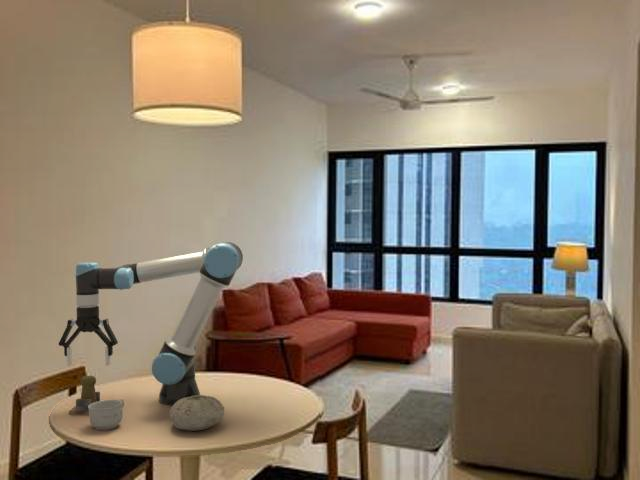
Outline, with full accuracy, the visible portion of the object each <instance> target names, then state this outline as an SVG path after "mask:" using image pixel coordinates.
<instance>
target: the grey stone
mask: <svg viewBox="0 0 640 480" xmlns="http://www.w3.org/2000/svg"><path fill="white" fill-rule="evenodd" d="M170 406H171V407H170V412H169V418H170V420H171V421H170V422H171V423H172V424H173V425H174V426H175V427H176V428H177V429H179V430H184V431H193V432H195V431H201V430H202V431H203V430H207V429H209V428H211V427H213V426H215V425H217V424H218V423H219V422H220V421H221V420H222V419H223V417H224V415H225V406H224V405H223V404H222V402H221V401H220V400H218V399H217V398H216V397H214V396H210V395H201V394H200V395H195V396H194V395H193V396H190V397H186V398H182V399H180V400H178V401H177V402H176V403H175V404H174V405H170Z"/></svg>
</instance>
